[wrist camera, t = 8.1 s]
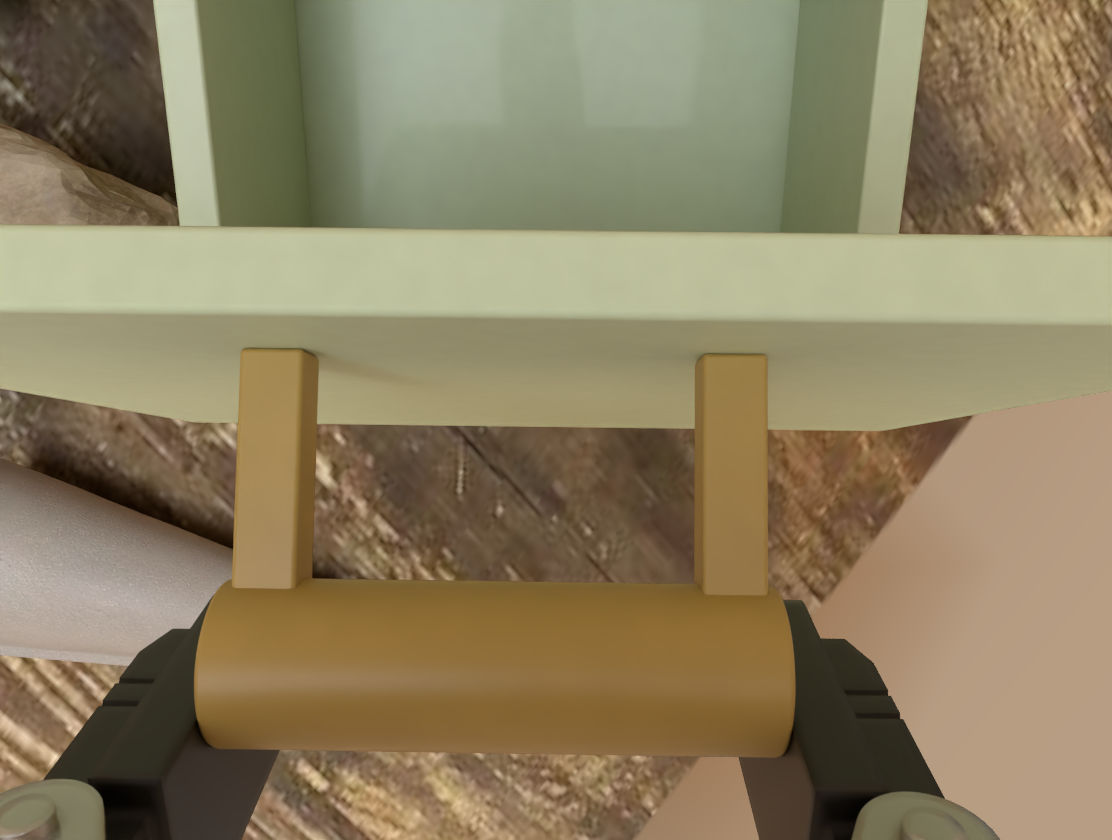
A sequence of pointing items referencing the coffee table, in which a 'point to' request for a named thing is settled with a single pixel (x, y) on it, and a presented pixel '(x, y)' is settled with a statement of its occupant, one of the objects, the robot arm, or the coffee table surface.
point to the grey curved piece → (94, 573)
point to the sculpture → (68, 189)
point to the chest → (542, 113)
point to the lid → (531, 401)
